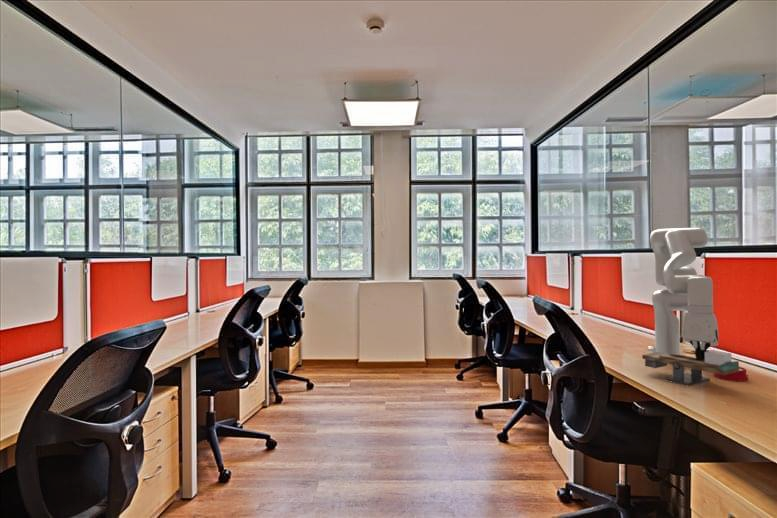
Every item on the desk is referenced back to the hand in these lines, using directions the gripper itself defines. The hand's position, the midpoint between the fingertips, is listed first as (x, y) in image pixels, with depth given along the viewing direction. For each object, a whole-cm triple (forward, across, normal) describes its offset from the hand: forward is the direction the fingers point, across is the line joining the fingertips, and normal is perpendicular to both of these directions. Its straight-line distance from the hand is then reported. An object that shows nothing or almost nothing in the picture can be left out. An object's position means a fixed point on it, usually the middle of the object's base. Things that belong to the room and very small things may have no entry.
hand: (700, 359), depth 155 cm
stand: (+9, -5, 0) cm, 10 cm away
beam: (+6, -5, 0) cm, 7 cm away
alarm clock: (+9, 0, +19) cm, 21 cm away
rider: (+1, +5, 0) cm, 6 cm away
